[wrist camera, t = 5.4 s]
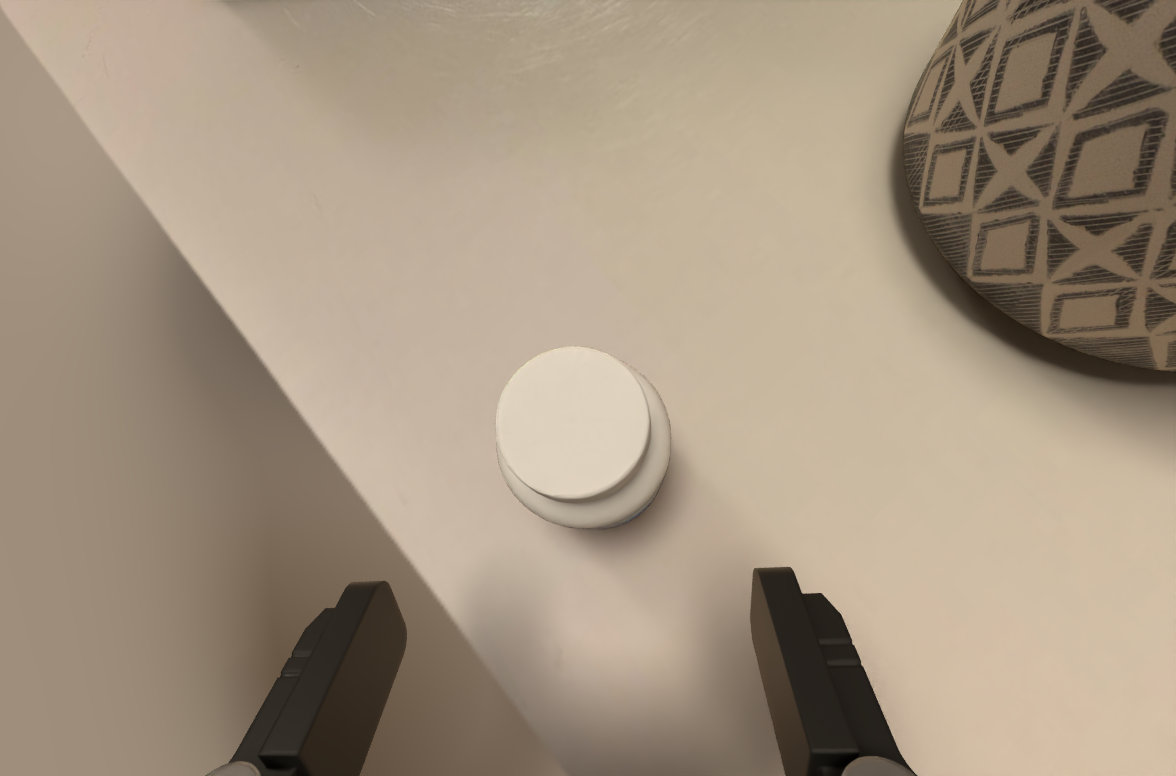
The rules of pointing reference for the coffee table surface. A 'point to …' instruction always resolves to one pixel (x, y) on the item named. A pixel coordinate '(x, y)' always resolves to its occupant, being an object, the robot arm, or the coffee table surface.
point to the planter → (1056, 168)
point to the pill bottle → (582, 438)
